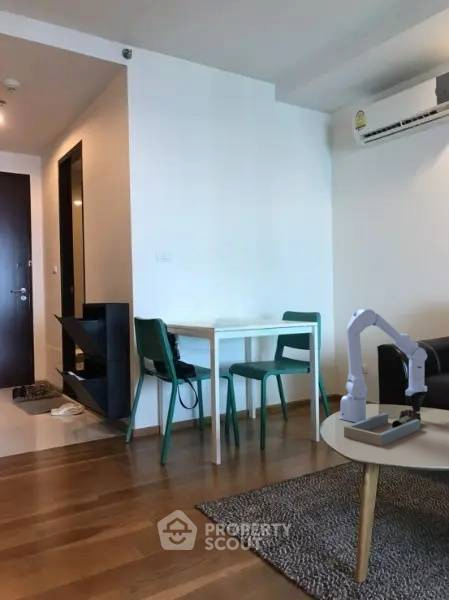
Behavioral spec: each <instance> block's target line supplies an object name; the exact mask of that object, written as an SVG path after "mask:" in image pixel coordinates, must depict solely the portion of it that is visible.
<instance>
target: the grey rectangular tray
mask: <svg viewBox="0 0 449 600" xmlns="http://www.w3.org/2000/svg"><path fill="white" fill-rule="evenodd" d="M367 418H368V419H365V420H362V421H359V422H353V423H350V424H348V425H345V426H344V427H343V437H344V438H347V439H352V440H355V441H359V442H363V443H367V444H370V445H375V446H378V447H382V446H385V445H387V444H389V443H392V442H394V441H397V440H399V439H401V438H403V437H406V436H408V435H410V434H412V433H415V432H417V431H420V430H421V422H420V420H417V419H415V420H413V421H410V422H408V423H405V424H402V425H400V426H397V427H395V428H392V427H391V428H390V429H388V430H385V431H382V432H379V433H378V432H374V431H370V430H372V429H375V428H378V427H380V426H383V425H386V424H388V423H389V413H387V412H383V413H380V414H378V415H375V416H372V417H367ZM369 429H370V430H369Z"/></svg>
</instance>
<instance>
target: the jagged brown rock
mask: <svg viewBox="0 0 449 600" xmlns="http://www.w3.org/2000/svg"><path fill="white" fill-rule="evenodd" d="M415 419H417V420H420V423H421V422H422V418H421V413H420V412H416V411H413V409H411V408H410V409H405V410H401V411H400V414H399V418H398V419H396V420H394V421H392V423H391V429H392V428H395V427H397V426H400V425H402V424H405V423H408V422H410V421H413V420H415Z"/></svg>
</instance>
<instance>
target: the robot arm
mask: <svg viewBox="0 0 449 600" xmlns="http://www.w3.org/2000/svg"><path fill="white" fill-rule="evenodd" d="M371 326H374V327H378V328H379V329H380V330H381V331H383V333H385V334H386V335H387V336H388V337H390V338H391V339H392V341H393V344H394V346H396V347H397V348H398V349H399V350H400V351H401V352H403V354H405V355H406V358H407V359H408V388H407V389H405V394H404V395H405V396H408V399H409V401H410V403H411V408H412V410H413V411H416V412H417V413H420V411H421V408H422V405H423V401H424V398H425V397H426V395H427V394H426V393H424V392H427V391H428V386H427V385H425V362H426V360H427V358H428V354H427V352H426V350H425V348H422V347H420V346H419V343H418V342H414V341H413V339H411V338H410V335H409V334H408V333H403V332H402V333H400V332H398V330H396V329H395V328H394V327H393V326H392V325H391V324H390V323H389V322H388V321H387V320H385V318H384V317H382V315H380V314H379V313H376V312H375V310H373V309H371V308H367V309H366V308H359V309H357V310H356V311H355V312H354V313H352V315H351V318H350V319H349V322H348V324H347V326H346V327H345V328H346V329H345V331H346V333H345V334H346V346H347V348H346V349H347V359H348V360H347V361H348V375H347V381H346V383H345V389H346V391H347V392H348V393H347V395H344V396H342V397H341V399H340V402H339V403H340V404H339V405H340V411H339V413H340V416H339V419H340V420H344V421H349V422H353V423H356V422H359V421H362V420H365V419H368V418H369V417H367V395H368V393H369V389H368V386H367V385H366V381H365V376H364V374H363V373H364V372H363V363H362V348H361V347H362V345H361V334H362V332H363V331H364V330H365V329H366V328H368V327H371Z"/></svg>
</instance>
